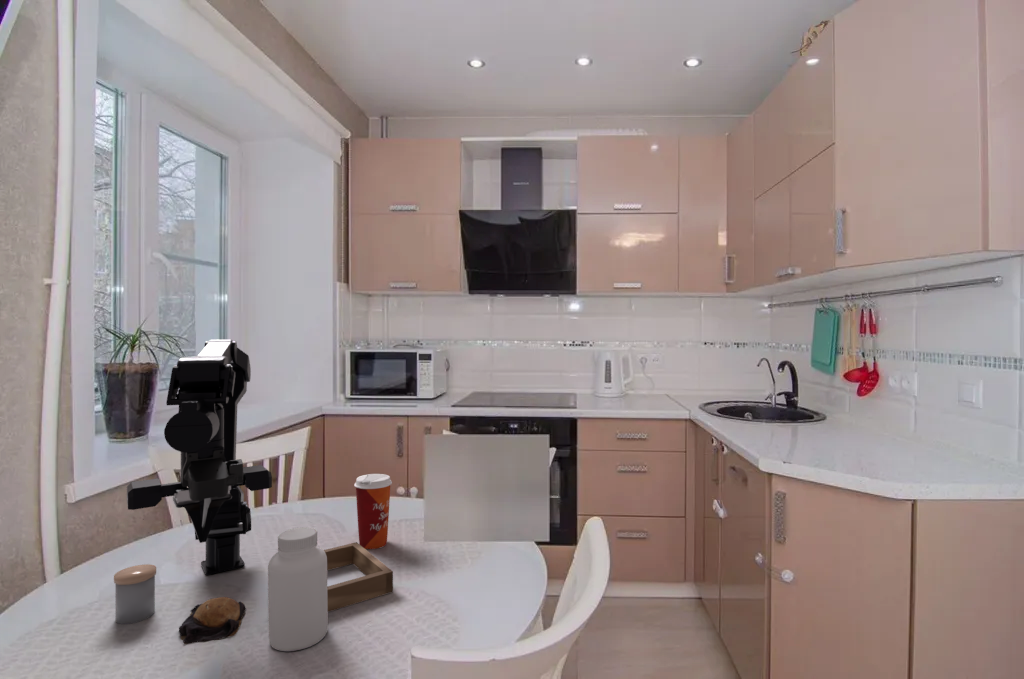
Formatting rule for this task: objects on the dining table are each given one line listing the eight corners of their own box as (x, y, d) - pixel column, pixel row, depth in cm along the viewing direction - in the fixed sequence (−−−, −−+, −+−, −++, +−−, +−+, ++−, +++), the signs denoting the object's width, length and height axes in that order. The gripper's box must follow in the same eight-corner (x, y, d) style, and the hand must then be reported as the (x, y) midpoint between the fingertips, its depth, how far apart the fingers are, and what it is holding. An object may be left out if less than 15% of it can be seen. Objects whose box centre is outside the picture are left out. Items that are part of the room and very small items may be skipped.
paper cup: (382, 552, 107) (382, 483, 107) (347, 549, 109) (347, 481, 109) (398, 538, 115) (398, 473, 115) (365, 536, 116) (365, 471, 116)
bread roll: (189, 614, 84) (189, 591, 84) (248, 605, 87) (248, 582, 87) (172, 651, 74) (171, 625, 74) (239, 639, 77) (239, 613, 77)
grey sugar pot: (113, 613, 83) (113, 570, 83) (154, 603, 87) (155, 561, 87) (114, 628, 79) (114, 582, 79) (157, 617, 82) (157, 573, 82)
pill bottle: (279, 623, 80) (279, 524, 80) (333, 621, 81) (333, 523, 81) (258, 654, 72) (259, 544, 73) (319, 652, 73) (319, 542, 73)
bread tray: (273, 581, 94) (273, 561, 94) (356, 560, 104) (356, 542, 104) (301, 620, 81) (301, 597, 81) (392, 591, 91) (392, 571, 91)
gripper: (129, 456, 69) (129, 576, 69) (281, 440, 81) (280, 543, 81) (126, 443, 78) (126, 550, 78) (263, 430, 90) (263, 523, 89)
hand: (202, 541), depth 81 cm, fingers closed
